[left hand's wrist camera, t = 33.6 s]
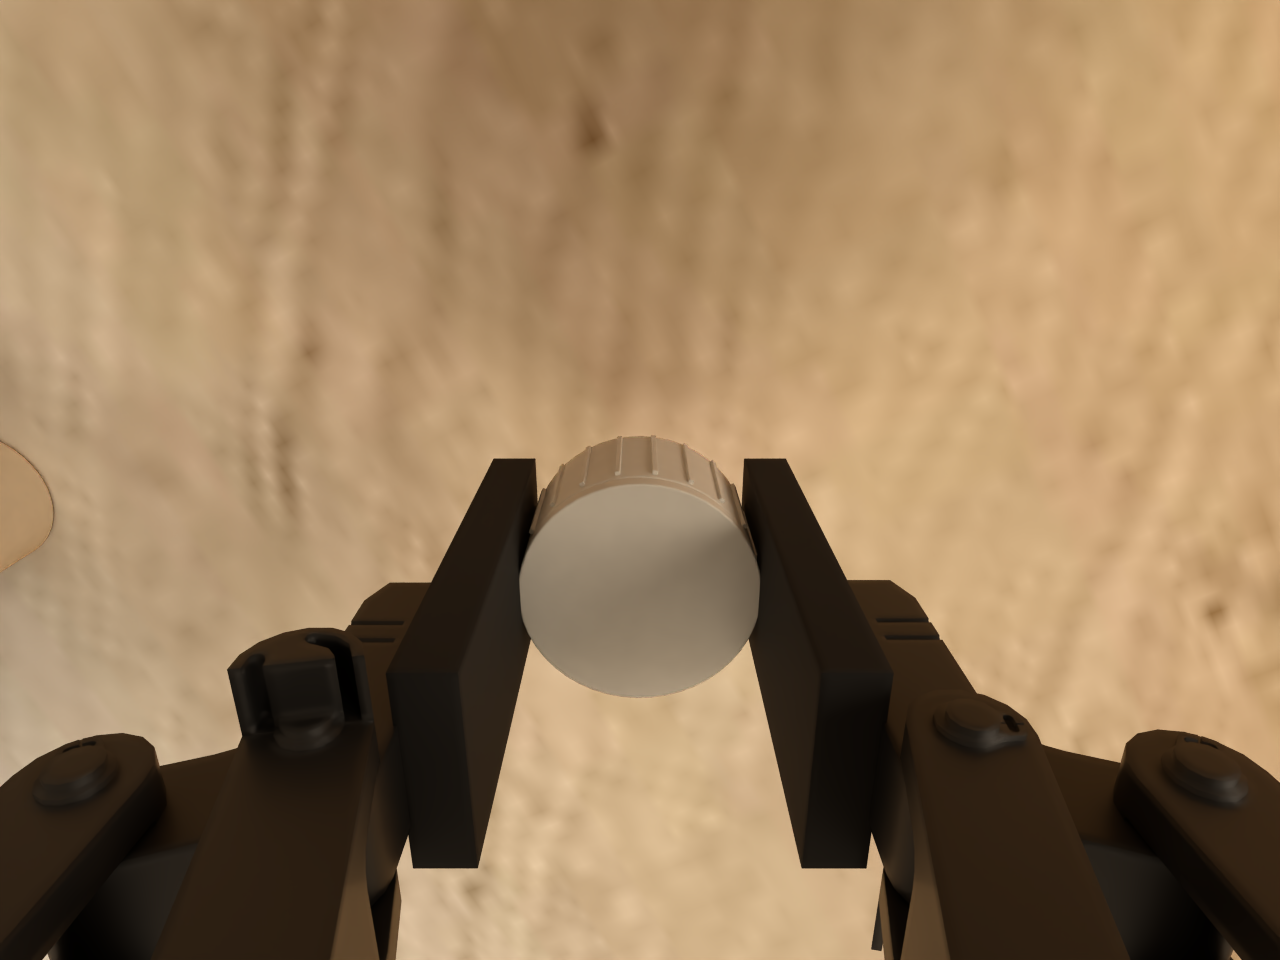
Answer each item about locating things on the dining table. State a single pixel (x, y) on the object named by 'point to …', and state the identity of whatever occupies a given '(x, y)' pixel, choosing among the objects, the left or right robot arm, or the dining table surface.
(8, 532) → the bottle
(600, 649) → the cap
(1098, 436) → the dining table surface
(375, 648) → the left robot arm
